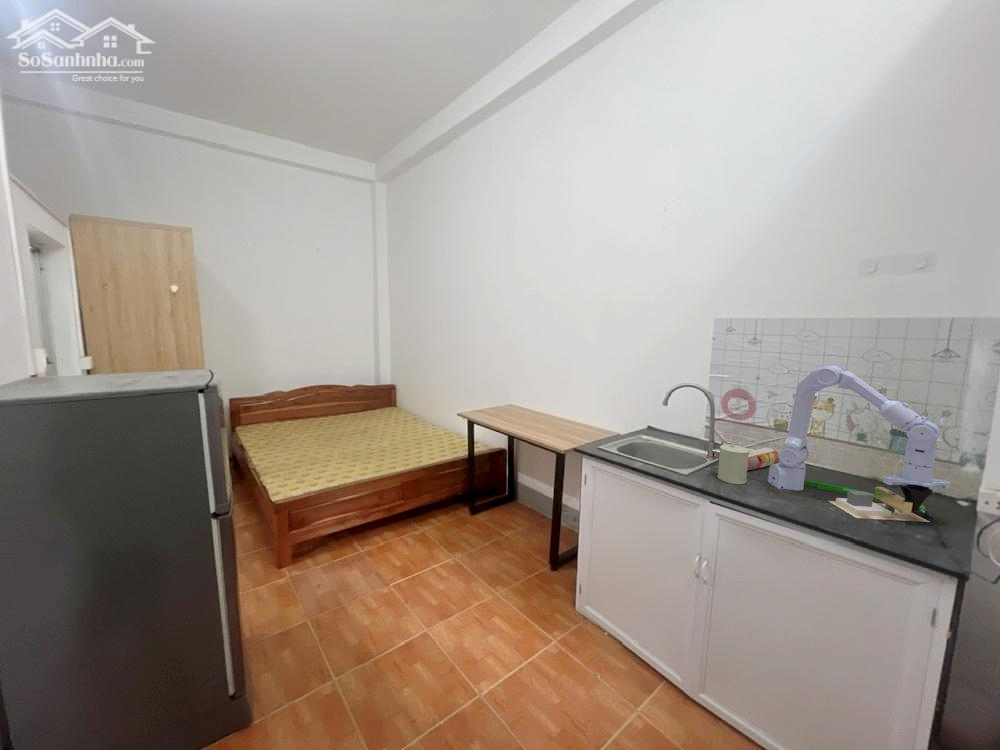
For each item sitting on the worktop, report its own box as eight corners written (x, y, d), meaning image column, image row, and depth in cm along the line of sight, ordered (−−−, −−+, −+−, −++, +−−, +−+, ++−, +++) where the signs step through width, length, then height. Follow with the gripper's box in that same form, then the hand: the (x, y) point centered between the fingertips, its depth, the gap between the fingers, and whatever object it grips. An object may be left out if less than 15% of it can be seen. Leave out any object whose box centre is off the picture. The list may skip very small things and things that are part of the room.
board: (855, 522, 111) (857, 512, 110) (827, 505, 121) (828, 495, 121) (929, 526, 109) (931, 516, 108) (893, 508, 120) (895, 498, 119)
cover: (856, 514, 112) (858, 498, 112) (835, 502, 120) (837, 487, 119) (890, 516, 111) (892, 499, 111) (867, 504, 119) (869, 488, 119)
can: (741, 475, 145) (743, 444, 144) (750, 485, 137) (754, 452, 135) (714, 473, 147) (716, 442, 146) (721, 482, 139) (724, 450, 137)
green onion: (919, 513, 119) (797, 484, 136) (922, 502, 119) (799, 475, 136) (924, 519, 115) (798, 488, 133) (927, 509, 115) (799, 479, 132)
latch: (874, 496, 120) (875, 485, 119) (882, 497, 119) (883, 486, 119) (902, 513, 109) (904, 501, 109) (911, 514, 109) (912, 501, 108)
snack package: (744, 474, 148) (745, 457, 147) (727, 468, 154) (729, 451, 153) (778, 466, 156) (780, 450, 156) (761, 461, 162) (762, 445, 162)
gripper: (900, 467, 106) (893, 514, 107) (964, 471, 103) (956, 519, 105) (880, 458, 113) (874, 503, 114) (939, 462, 110) (932, 507, 112)
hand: (912, 510), depth 110 cm, fingers closed
